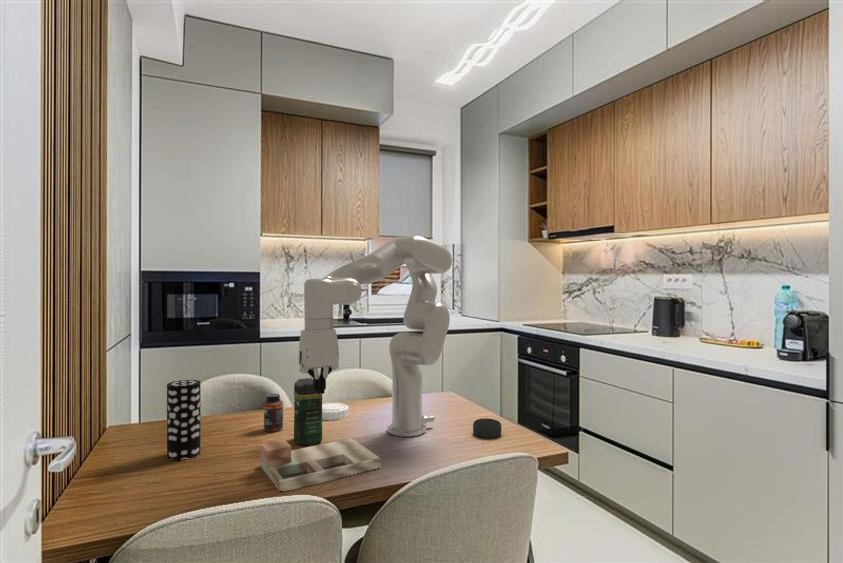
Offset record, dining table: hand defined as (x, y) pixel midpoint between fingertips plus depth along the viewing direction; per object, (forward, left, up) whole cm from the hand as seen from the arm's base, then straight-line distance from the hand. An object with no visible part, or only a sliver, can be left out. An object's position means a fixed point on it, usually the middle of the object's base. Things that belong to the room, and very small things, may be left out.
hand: (319, 392), depth 127 cm
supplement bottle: (+3, -33, -19) cm, 38 cm away
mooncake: (-19, -38, -19) cm, 46 cm away
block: (+12, 0, -16) cm, 20 cm away
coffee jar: (-3, -17, -19) cm, 25 cm away
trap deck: (+1, +4, -18) cm, 19 cm away
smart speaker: (-53, +7, -19) cm, 56 cm away
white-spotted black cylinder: (+30, -24, -19) cm, 43 cm away
